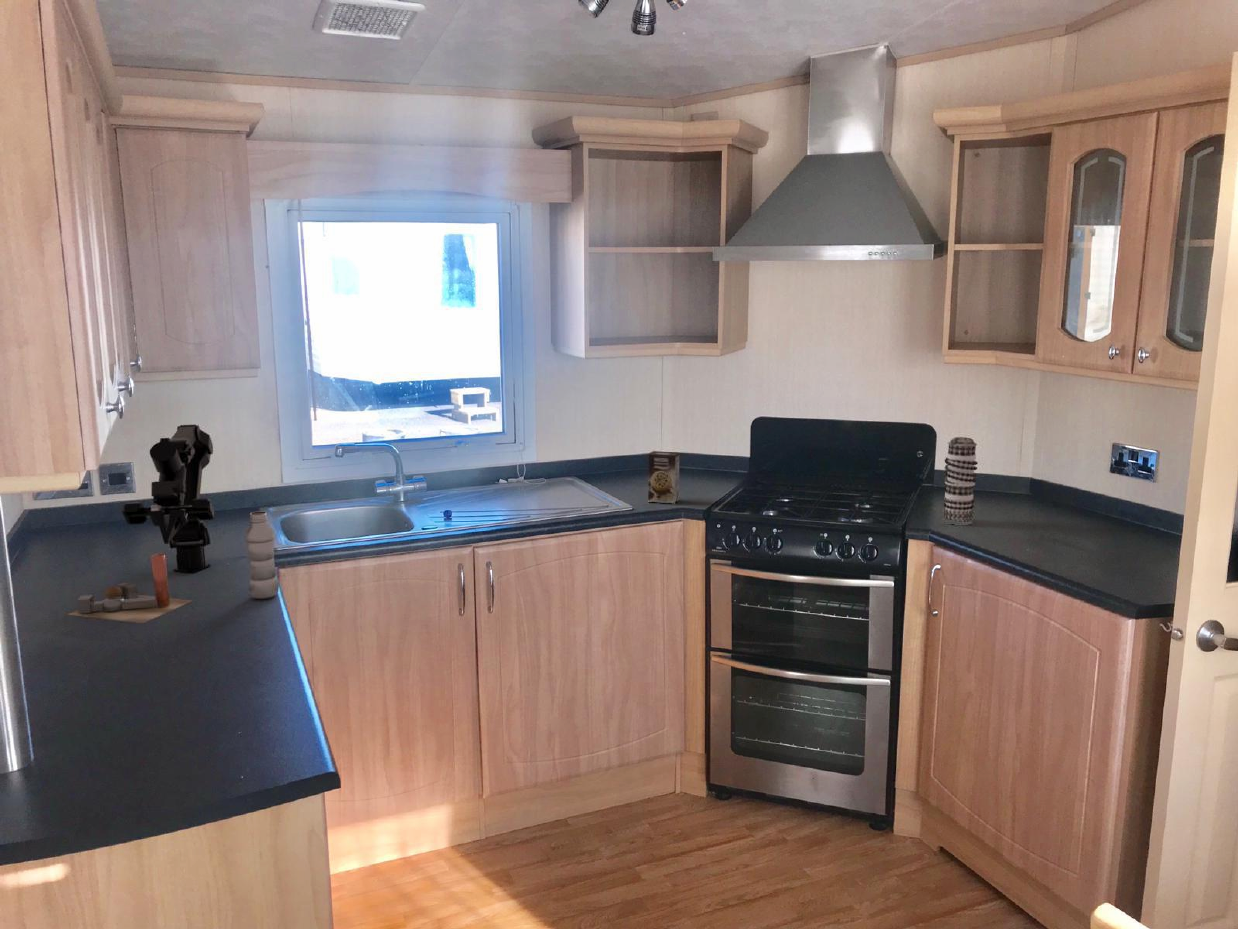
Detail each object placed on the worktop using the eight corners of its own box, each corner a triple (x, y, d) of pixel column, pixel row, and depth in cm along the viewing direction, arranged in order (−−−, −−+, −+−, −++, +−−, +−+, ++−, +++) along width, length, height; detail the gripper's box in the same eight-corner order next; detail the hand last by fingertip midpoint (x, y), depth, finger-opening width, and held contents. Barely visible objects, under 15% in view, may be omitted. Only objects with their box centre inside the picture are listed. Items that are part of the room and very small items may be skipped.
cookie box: (647, 503, 317) (647, 453, 314) (652, 498, 323) (652, 450, 320) (675, 504, 314) (675, 455, 311) (679, 500, 320) (679, 451, 317)
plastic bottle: (248, 603, 223) (241, 517, 220) (251, 594, 230) (244, 510, 226) (278, 600, 225) (272, 515, 221) (280, 591, 232) (274, 508, 228)
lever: (77, 614, 212) (71, 563, 210) (83, 607, 216) (77, 557, 214) (167, 607, 216) (162, 557, 214) (172, 601, 220) (167, 552, 218)
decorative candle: (938, 524, 288) (943, 439, 283) (944, 517, 296) (948, 435, 291) (971, 527, 284) (976, 442, 279) (976, 520, 292) (981, 437, 287)
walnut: (114, 598, 224) (112, 583, 223) (127, 599, 223) (125, 584, 222) (101, 603, 220) (100, 588, 220) (114, 604, 219) (113, 589, 219)
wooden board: (121, 597, 228) (119, 580, 227) (193, 605, 222) (191, 587, 221) (68, 619, 214) (66, 601, 213) (143, 628, 208) (141, 609, 207)
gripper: (119, 468, 223) (112, 527, 215) (207, 464, 227) (203, 522, 219) (131, 494, 232) (124, 552, 224) (216, 490, 236) (212, 547, 228)
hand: (166, 543), depth 223 cm, fingers closed
